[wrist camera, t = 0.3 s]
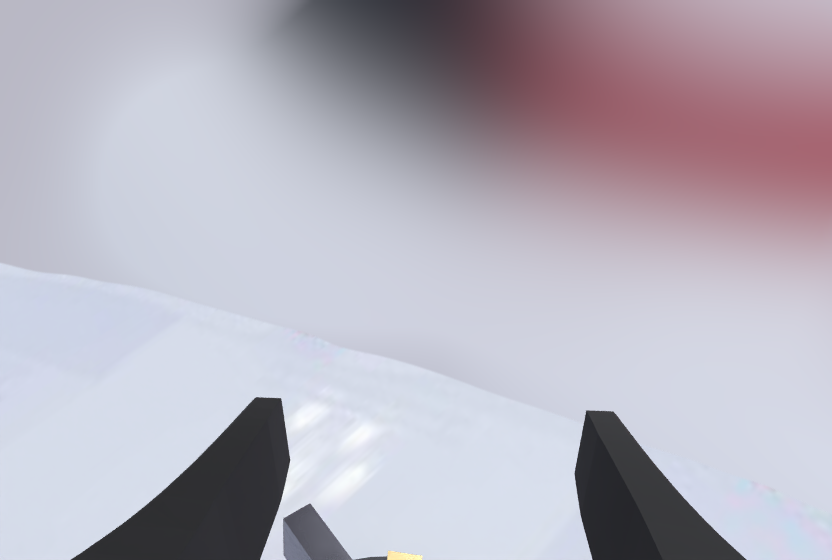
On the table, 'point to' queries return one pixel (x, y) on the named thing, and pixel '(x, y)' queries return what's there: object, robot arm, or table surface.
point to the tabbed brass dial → (318, 539)
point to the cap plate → (374, 558)
